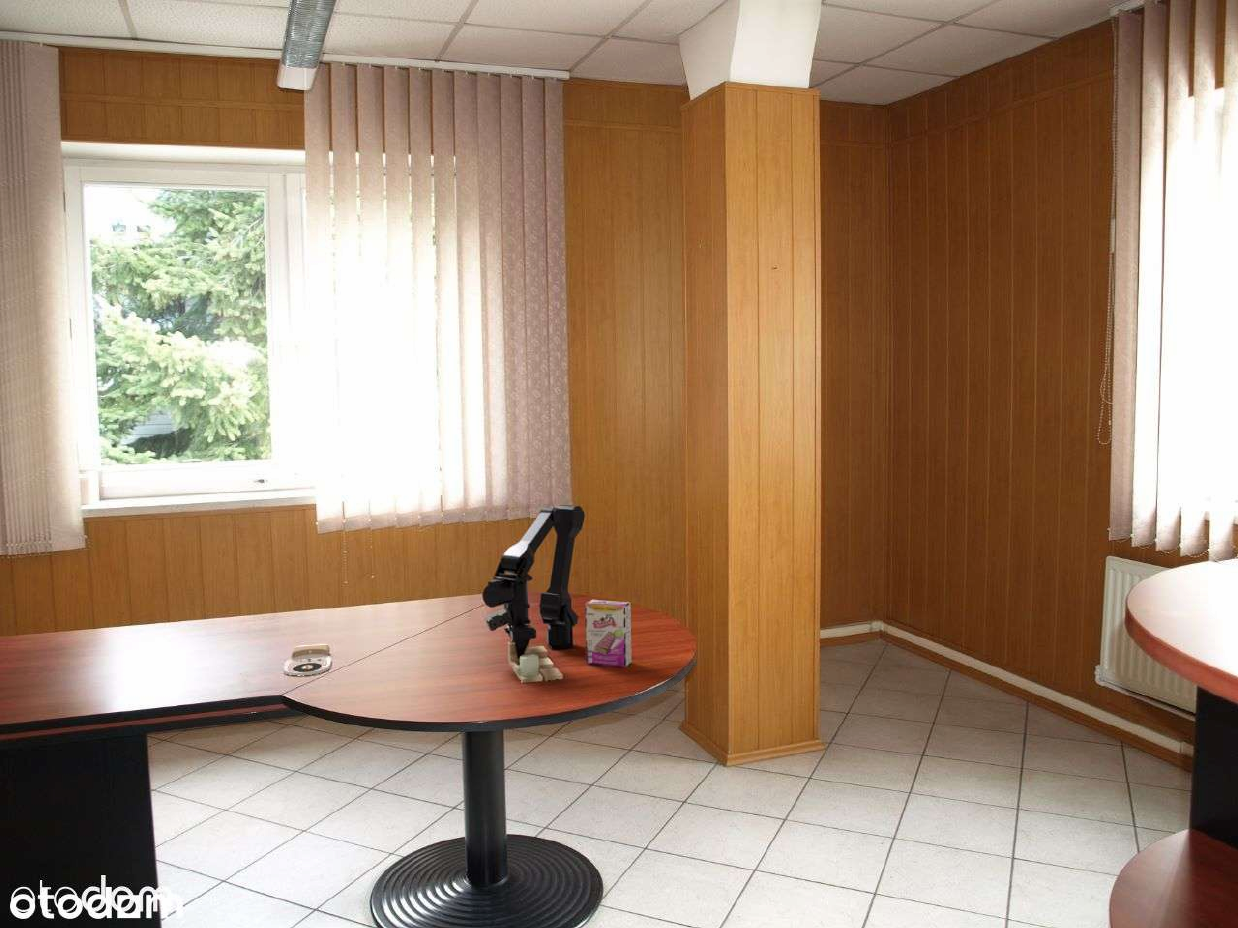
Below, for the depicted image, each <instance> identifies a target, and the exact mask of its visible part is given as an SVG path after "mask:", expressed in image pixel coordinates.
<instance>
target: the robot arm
mask: <svg viewBox="0 0 1238 928" xmlns="http://www.w3.org/2000/svg"><path fill="white" fill-rule="evenodd" d="M585 514H586V513H585V512H584V510H583V508H582V506H579V505H572V504H570V505H569V504H559V505H558V506H556V507H551V506H549V507H548V506H543V507H542V508H540V510H539V514H538V516H537V517H536V518H535V519H534V521H533V522H532V524H531V525H530V527H529V528H528V530H526V532H525V534H524V535H523V537H522V538H521V539H520V541H519V542H518V543H516V544H514V545H512V546H510V547H509V548H508V549H507V550H506V551H505V552H504V553H502V556H501V557H500V561H499V563H498V566H497V568H496V570H495V573H494V576H493V580H491V579H490V580H488V582H487V586H486V587H484V589H483V591H482V595H481V596H482V601H483V603H484V604H485V605H486V606H487V607H488V608H493V609H494V608H497V607H500V606H503V608H502V609H499V610H496V611H494V612H492V613H489V614H487V615H486V616H485V617H484V620H485V622H486V625H487V627H488V629H489V631H490V632H494V631H496V630H497V629H498V628H501V627H504V626H505V625H506V627H505V628H503V630H504V631H505V633H507V636H508V637H509V639H511V642H512V641H514V643H515V648H516V653H517V657H518V659H520V656H522V655H524V653H525V651H526V648H527V646H528V644H529V645H530V641H531V640H534V639H537V630H536V628H535V627H534V626H533V625H531V619H530V618H529V609H530V608H531V607H530V606H531V605H530V603H529V596H528V595H529V594H528V592H529V591H528V590H529V589H528V582H529V581H532V580H533V577H532V576H531V575H530V574H529V572H530V570H531V568H532V567H533V565H534V563H535V554H536V552H537V550H538V549H539V548H540V546H541V545H542V543H543V541H544V540H545V539H546V537H547V536H548V535H549V533H550V532H551V530H552V529H554V531H555V533H556V543H555V547H554V554H553V555H554V556H553V560H552V561H553V562H552V567H551V568H552V569H551V575H550V583H549V587H548V588H547V590H545V592H541V593H540V601H539V604H538V607H539V614H540V616H541V620H542V623H543V624H545V625H547V627H548V628H546V629H545V630H546V631H545V632H546V644H547V645H548V646H549V648H551V650H560V649H569V648H575V644H574V635H573V634H574V633H573V632H574V631H573V630H574V629H573V627H575V626H576V625H577V624H578V622H579V616H578V614H577V613H576V612H575V610H573V608H572V598H571V595H570V592H569V591H568V590H569V589H568V588H569V581H570V576H571V575H570V574H571V567H572V560H573V552H574V546H575V540H576V538H577V536H578V535H579V533H580V532H581V531H582V530H583V526H584V522H585V518H586V515H585Z"/></svg>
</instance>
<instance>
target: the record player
mask: <svg viewBox="0 0 1238 928" xmlns="http://www.w3.org/2000/svg"><path fill="white" fill-rule="evenodd" d="M330 649H331V648H330V645H329V644H328V643H320V644H319V643H317V644H306V645H304V644H303V645H295V646H294V649H293V651H292V652H291V653H292V654H291V658H290V659H288V660H286V662H284V663H285V664H284V666H283V673H284V672H285V673H287V674H291V675H310V676H313V675H312V674H316V675H319V674H318V673H320V674H322V673H321V672H323V673H325V672H324V671H326V670H328V669H329V668H330V669H331V667H330V666H332V657H331V656H329V654H330ZM311 658H313V659H311ZM314 658H315V659H314ZM316 658H319V659H316ZM302 659H307V660H308V661H307V662H309V663H305V664H300V665H297V666H296V667H293V670H294V671H298V672H302V673H296V672H289V671H288V670H287V669H288V666H289V664H290V663H293V662H294V661H297V662H299V661H298V660H300V662H302ZM323 659H325V660H326V661H327V665H326V667H325V666H322V665H321V664H318V663H311V662H312V660H317V661H322V660H323ZM323 663H324V664H325V661H323ZM322 667H325V668H323V669H320V668H322ZM318 669H319V670H318ZM330 669H329V670H330ZM316 670H317V671H316ZM329 670H328V671H329ZM326 672H327V671H326ZM285 673H284V674H285Z"/></svg>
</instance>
